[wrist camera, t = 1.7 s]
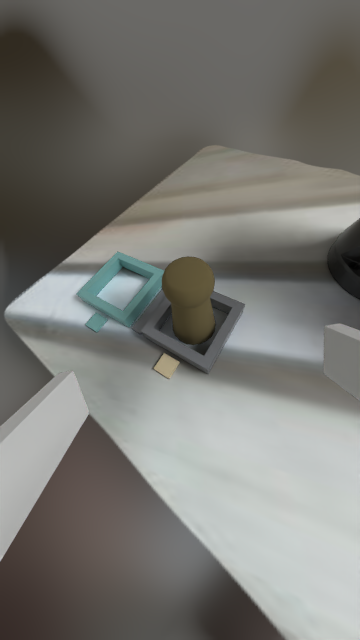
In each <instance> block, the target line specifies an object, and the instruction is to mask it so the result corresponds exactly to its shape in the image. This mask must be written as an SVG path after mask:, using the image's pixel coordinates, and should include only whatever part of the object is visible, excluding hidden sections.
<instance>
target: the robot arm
mask: <svg viewBox="0 0 360 640" xmlns="http://www.w3.org/2000/svg"><path fill="white" fill-rule="evenodd" d="M328 265H329V269H330V271H331V273H332V275H333V276H334V278H335V279H336V280H337V282H338V283H339V284H340V285H341V286H342V287H343V288H344V289H346V290H347V291H348V292H349V293H351V294H352V295H354V296H355V297H357V298H359V299H360V218H359V219H358V220H357V221H356V222H354V223H353V224H352V225H351V226H349V227H348V228H347V229H346V230H344V231H343V232H342V233H341V234H340V236H339V237H338V238H337V240H336V241H335V243H334V244H333V246H332V247H331V249H330V251H329V253H328ZM323 374H325V375H326V376H327V377H329V378H330V379H331V380H333V381H334V382H335V383H337V384H338V385H339V386H341V387H342V388H343V389H345V390H346V391H347V392H349V393H350V394H351V395H353V396H354V397H355V398H357V399H358V400H359V401H360V330H357V329H355V328H352V327H349V326H346V325H343V324H341V323H338V324H332V325H327V326H324V373H323ZM88 414H89V410H88V408H87V405H86V403H85V400H84V397H83V395H82V392H81V389H80V387H79V384H78V382H77V379H76V376H75V374H74V371H73V370H72V371H66V372H61V373H59V374H57V375H56V376H55V377H54V378H53V379H52V380H51V381H50V382H49V383H48V384H46V385H45V386H44V387H43V388H42V389H41V390H40V391H39V392H38V393H37V394H36V395H35V396H33V397H32V398H31V399H30V400H29V401H28V402H27V403H26V404H24V405H23V406H22V407H21V408H20V409H19V410H18V411H17V412H16V413H15V414H13V415H12V416H11V417H10V418H9V419H8V420H7V421H6V422H5V423H4V424H2V425H1V426H0V561H1V559H2V558H3V556H4V554H5V553H6V551H7V549H8V548H9V546H10V544H11V542H12V541H13V539H14V538H15V536H16V534H17V533H18V531H19V529H20V528H21V526H22V524H23V523H24V521H25V519H26V518H27V516H28V514H29V512H30V511H31V509H32V507H33V506H34V504H35V502H36V501H37V499H38V498H39V496H40V494H41V493H42V491H43V489H44V488H45V486H46V484H47V482H48V481H49V479H50V477H51V475H52V474H53V473H54V471H55V469H56V468H57V466H58V464H59V463H60V461H61V459H62V458H63V456H64V454H65V453H66V451H67V449H68V447H69V445H70V444H71V442H72V441H73V439H74V438H75V436H76V434H77V432H78V431H79V429H80V427H81V426H82V424H83V422H84V421H85V419H86V417H87V416H88Z"/></svg>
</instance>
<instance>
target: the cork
mask: <svg viewBox="0 0 360 640" xmlns="http://www.w3.org/2000/svg"><path fill="white" fill-rule="evenodd" d="M214 284H215V279H214V275H213V271H212V269H211V268H210V266H209V265H208V264H207V263H206V262H204V261H203V260H201V259H199V258H196V257H182V258H179V259H177V260H174V261H173V262H172V263H170V264H169V265H168V267H167V268H166V269H165V271H164V273H163V276H162V289H163V292H164V294H165V296H166V298H167V299H168V300H169V301H170V302H171V308H172V322H173V331H174V334H175V336H176V337H177V338H178V339H179V340H180V341H182V342H184V343H186V344H191V345H196V344H201V343H203V342H206V341H207V340H208V339H209V338H210V337H212V335H213V333H214V331H215V326H216V324H215V319H214V314H213V309H212V305H211V300H210V296H211V294H212V292H213V289H214Z"/></svg>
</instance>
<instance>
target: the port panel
mask: <svg viewBox="0 0 360 640" xmlns="http://www.w3.org/2000/svg"><path fill="white" fill-rule="evenodd" d="M122 267H125V268H127V269H129V270H131V271H134V272H136V273H138V274H140V275H142V276H145V277H147V278H149V281H148V282H147V283H146V284H145V285H144V287H143V288H142V289H141V290H140V291H139V293H138V294H137V295H136V296H135V297H134V299H133V300H132V301H131V302H130V303H129V305H128V306H127V307H126V308H125V309H124V311H122V310H120V309H118V308H116V307H115V306H113V305H111V304H109V303H107V302H106V301H104V300H102V299H100V298H98V297H97V296H96V295H97V294H98V293H99V292H100V291H101V290H102V289H103V288H104V287H105V286H106V284H107V283H108V282H109V281H110V280H111V279H112V278H113V277H114V276H115V275H116V274H117V273H118V272H119V270H120V269H121V268H122ZM163 273H164V270H161V269H159V268H156V267H154V266H152V265H149V264H147V263H144V262H142V261H139V260H137V259H135V258H132V257H130V256H127V255H125V254H123V253H120V252H117V253H116V254H115V255H114V256H113V257H112V258H111V259H110V260H109V261H108V262H107V263H106V264H105V265H104V266H103V267H102V268H101V269H100V270H99V271H98V272H97V273H96V274H95V275H94V276H93V277H92V278H91V279H90V280H89V281H88V282H87V283H86V284H85V285H84V286H83V288H82V289H81V290H80V291H79V292H78V293H77V295H78V296H79V297H80V298H81V299H82V300H83V301H84V302H86V303H88V304H89V305H91V306H93V307H95V308H96V309H98V310H100V311H101V312H103V313H105V314H106V315H108V316H110V317H112V318H113V319H115V320H117V321H118V322H120V323H122V324H124V325H125V326H127V327H130V326H131V325H132V323H133V322H134V321H135V320H136V318H137V317H138V316H139V315H140V313H141V312H142V311H143V309H144V308H145V307H146V306H147V304H148V303H149V302H150V301H151V299H152V298H153V297H154V295H155V294H156V293H157V292H158V290H159V289H160V288H161V287H162V276H163ZM210 300H211V305H212V307H214V308H216V309H219V310H221V311H223V312H225V313H228V316H227V318H226V320H225V321H224V323H223V325H222V326H221V328H220V330H219V331H218V333H217V335H216V337H215V338H214V340H213V342H212V343H211V345H210V347H209V349H208V350H207V352H206V354H205V355H204V356H203V355H201V354H200V353H198V352H196V351H194V350H192V349H190V348H189V347H187V346H185V345H183V344H181V343H180V342H178V341H176V340H174V339H172V338H171V337H169V336H167V335H165V334H163V333H162V332H160V331H159V330H160V329H161V327H162V326H163V325H164V323H165V322H166V320H167V319H168V318H169V316H170V315H171V313H172V308H171V302H170V301H169V300H168V299H167V298H166V296H165V294H164V292H163V289H162V290H161V291H160V292H159V294H158V295H157V296H156V298H155V299H154V300H153V301H152V303H151V304H150V305H149V307H148V308H147V309H146V310H145V312H144V313H143V314H142V315H141V317H140V318H139V319H138V321H137V322H136V323H135V324H134V326H133V327H132V329H133V330H134V331H136V332H137V333H139V334H143V335H144V336H145V337H146V338H147V339H149V340H151V341H153V342H154V343H156V344H158V345H159V346H161V347H163V348H165V349H166V350H168V351H170V352H171V353H173V354H175V355H177V356H178V357H180V358H182V359H183V360H185V361H187V362H188V363H190V364H192V365H194V366H195V367H197V368H199V369H200V370H202V371H204V372H206V373H207V374H209V372H210V370H211V368H212V366H213V365H214V363H215V361H216V359H217V357H218V356H219V354H220V352H221V350H222V348H223V347H224V345H225V343H226V341H227V339H228V338H229V336H230V334H231V332H232V330H233V329H234V327H235V325H236V323H237V321H238V320H239V318H240V316H241V314H242V312H243V309H244V306H245V304H243V303H241V302H238V301H236V300H234V299H231V298H229V297H226V296H224V295H222V294H219V293H217V292H214V291H213V292H212V294H211V296H210ZM107 320H108V319H106V318H105V317H103V316H101V315H100V314H98V313H95V314H94V315H93V316H92V318H91V319H90V320H89V321H88V322H87V323H86V324H85V325H86V326H88V327H89V328H91V329H93V330H94V331H96V332H98V331H99V330H100V329H101V327H102V326H103V325H104V324H105V323H106V322H107ZM179 363H180V362H178V361H177V360H175V359H173V358H172V357H170V356H168V355H167V354H165V353H164V354H163V355H162V357H161V358H160V360H159V361H158V363H157V364H156V366H155V367H154V370H156V371H158V372H159V373H161V374H162V375H164V376H165V377H167V378H168V379H170V377H171V376H172V374H173V373H174V371H175V369H176V368H177V366H178V365H179Z"/></svg>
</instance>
